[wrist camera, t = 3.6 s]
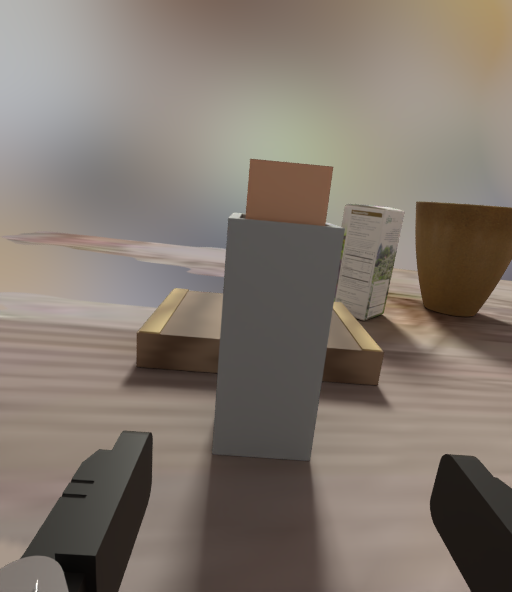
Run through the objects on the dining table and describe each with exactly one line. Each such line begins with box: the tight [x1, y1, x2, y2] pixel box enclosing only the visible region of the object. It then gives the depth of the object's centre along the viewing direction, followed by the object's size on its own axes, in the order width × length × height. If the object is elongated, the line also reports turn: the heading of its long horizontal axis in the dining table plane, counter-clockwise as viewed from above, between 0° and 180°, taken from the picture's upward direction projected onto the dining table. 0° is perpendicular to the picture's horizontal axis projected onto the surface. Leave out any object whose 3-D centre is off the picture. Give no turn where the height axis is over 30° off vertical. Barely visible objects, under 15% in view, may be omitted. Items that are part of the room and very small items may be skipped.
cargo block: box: [245, 159, 333, 226], centre depth 20 cm, size 4×4×4 cm
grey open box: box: [212, 213, 345, 461], centre depth 22 cm, size 6×6×13 cm
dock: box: [137, 288, 384, 385], centre depth 37 cm, size 20×14×3 cm
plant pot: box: [416, 202, 512, 317], centre depth 55 cm, size 15×15×16 cm
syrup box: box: [334, 204, 404, 321], centre depth 49 cm, size 6×6×14 cm
